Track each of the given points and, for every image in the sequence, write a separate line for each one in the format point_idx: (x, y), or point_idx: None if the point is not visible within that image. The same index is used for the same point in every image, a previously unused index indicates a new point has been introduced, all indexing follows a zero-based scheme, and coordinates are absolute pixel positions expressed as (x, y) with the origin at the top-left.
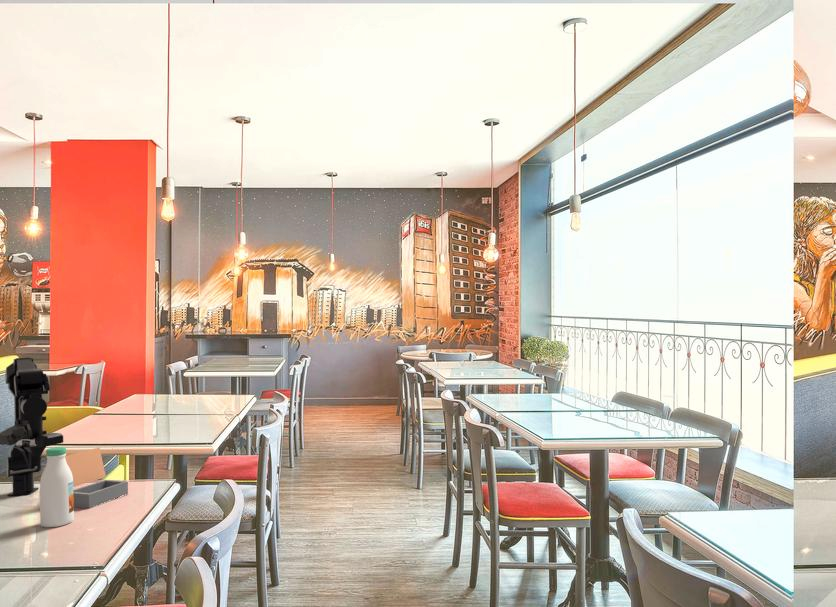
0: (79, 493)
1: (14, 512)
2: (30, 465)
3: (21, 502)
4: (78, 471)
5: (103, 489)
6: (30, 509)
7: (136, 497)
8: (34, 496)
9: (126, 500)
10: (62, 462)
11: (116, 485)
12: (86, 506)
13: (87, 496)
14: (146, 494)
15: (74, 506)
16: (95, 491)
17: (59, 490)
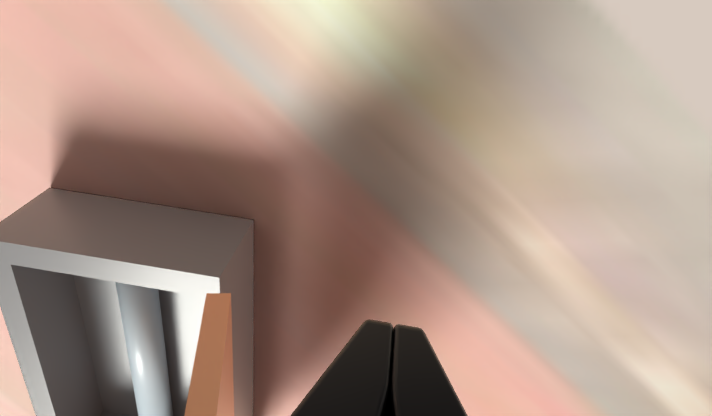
0: (78, 256)
1: (551, 45)
2: (354, 362)
3: (689, 271)
4: None
5: (16, 342)
6: (467, 131)
7: (8, 367)
8: (681, 381)
9: (4, 326)
10: None
11: (36, 413)
12: (66, 196)
13: (6, 231)
14: (12, 405)
15: (177, 209)
16: (17, 302)
17: None
